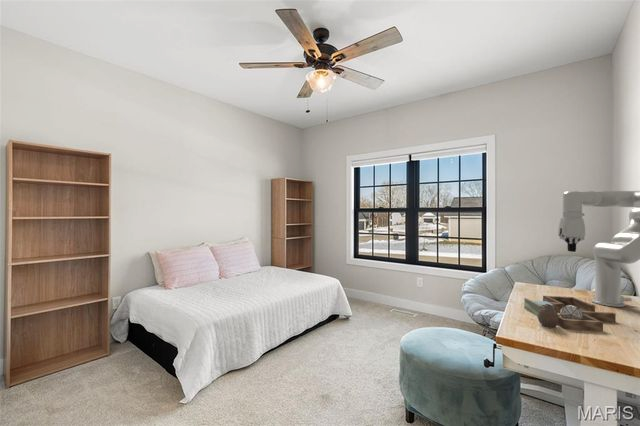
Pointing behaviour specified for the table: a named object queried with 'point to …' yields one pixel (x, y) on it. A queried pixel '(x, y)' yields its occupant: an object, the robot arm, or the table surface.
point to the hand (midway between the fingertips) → (571, 251)
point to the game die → (571, 312)
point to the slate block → (543, 303)
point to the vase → (548, 316)
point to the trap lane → (589, 323)
